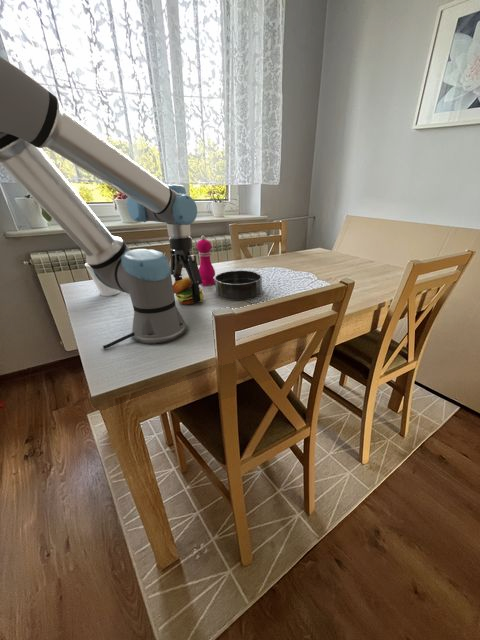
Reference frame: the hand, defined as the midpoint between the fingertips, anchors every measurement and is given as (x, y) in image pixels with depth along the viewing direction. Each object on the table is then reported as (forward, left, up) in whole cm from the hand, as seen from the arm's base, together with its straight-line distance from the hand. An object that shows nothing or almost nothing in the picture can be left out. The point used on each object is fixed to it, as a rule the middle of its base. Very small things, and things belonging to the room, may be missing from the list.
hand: (188, 297), depth 110 cm
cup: (-19, +30, -1) cm, 35 cm away
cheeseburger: (0, 0, -1) cm, 1 cm away
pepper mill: (+17, +13, -1) cm, 22 cm away
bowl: (+20, -6, -1) cm, 21 cm away
